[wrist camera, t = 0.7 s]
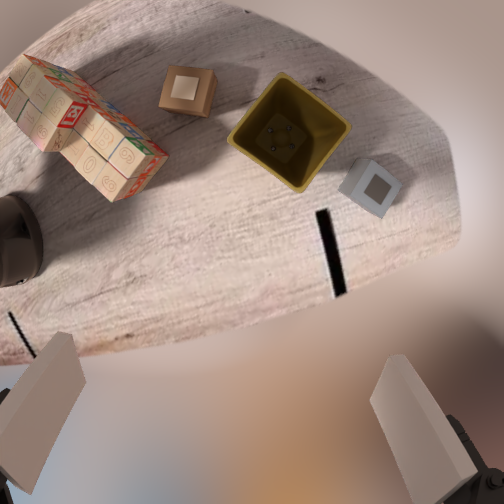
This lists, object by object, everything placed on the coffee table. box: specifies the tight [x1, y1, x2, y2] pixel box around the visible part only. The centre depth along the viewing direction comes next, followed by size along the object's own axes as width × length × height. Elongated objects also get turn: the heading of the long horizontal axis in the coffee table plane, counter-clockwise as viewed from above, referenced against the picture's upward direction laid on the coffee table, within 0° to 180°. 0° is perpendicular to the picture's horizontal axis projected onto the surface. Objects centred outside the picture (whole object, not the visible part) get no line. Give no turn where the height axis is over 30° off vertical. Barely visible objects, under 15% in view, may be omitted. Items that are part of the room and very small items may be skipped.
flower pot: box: [227, 72, 352, 193], centre depth 29 cm, size 9×9×9 cm
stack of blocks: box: [0, 54, 169, 202], centre depth 27 cm, size 21×6×12 cm, turn 47°
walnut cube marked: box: [158, 65, 217, 118], centre depth 29 cm, size 5×5×5 cm
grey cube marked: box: [338, 158, 403, 219], centre depth 33 cm, size 5×5×5 cm
